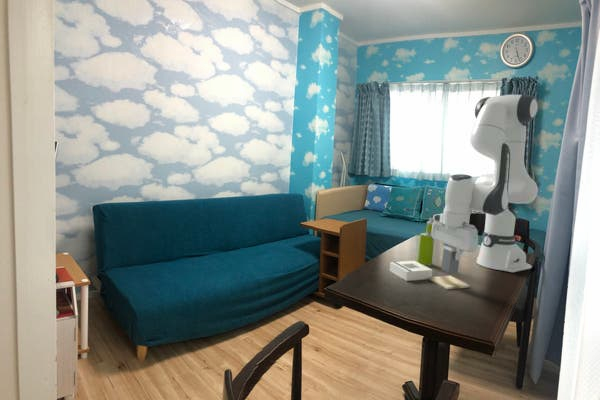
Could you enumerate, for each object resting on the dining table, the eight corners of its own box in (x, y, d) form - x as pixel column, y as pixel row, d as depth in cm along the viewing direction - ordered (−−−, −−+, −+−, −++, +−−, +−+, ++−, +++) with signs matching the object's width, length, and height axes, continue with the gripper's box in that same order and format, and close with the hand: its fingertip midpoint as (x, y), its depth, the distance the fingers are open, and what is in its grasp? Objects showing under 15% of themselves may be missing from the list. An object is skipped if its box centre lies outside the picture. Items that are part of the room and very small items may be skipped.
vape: (429, 266, 158) (434, 219, 155) (416, 262, 162) (420, 216, 159) (433, 264, 161) (438, 218, 158) (419, 260, 165) (424, 215, 162)
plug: (450, 268, 141) (453, 245, 140) (458, 272, 137) (461, 248, 136) (440, 269, 140) (443, 245, 138) (448, 273, 136) (451, 248, 134)
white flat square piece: (413, 269, 154) (414, 259, 153) (431, 278, 143) (432, 269, 143) (389, 270, 150) (390, 261, 149) (406, 280, 140) (407, 270, 139)
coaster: (450, 277, 146) (450, 275, 145) (469, 287, 136) (469, 285, 136) (428, 279, 142) (428, 277, 142) (446, 289, 133) (447, 287, 133)
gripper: (485, 226, 127) (479, 266, 129) (443, 214, 146) (439, 249, 148) (470, 226, 125) (465, 267, 127) (430, 214, 144) (426, 249, 146)
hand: (451, 257), depth 138 cm, fingers closed on plug, 4 cm apart
